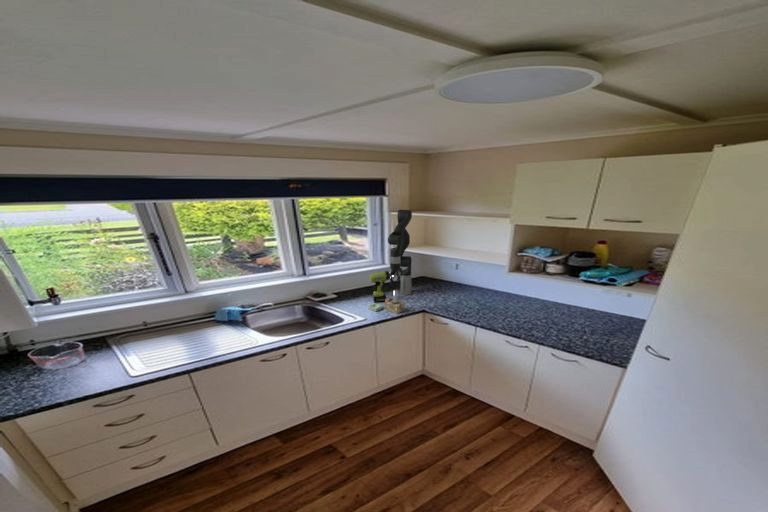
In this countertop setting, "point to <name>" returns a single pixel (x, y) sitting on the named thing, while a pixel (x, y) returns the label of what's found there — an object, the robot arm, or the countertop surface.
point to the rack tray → (375, 307)
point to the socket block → (395, 307)
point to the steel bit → (395, 296)
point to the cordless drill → (379, 285)
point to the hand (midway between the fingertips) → (395, 283)
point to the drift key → (387, 301)
